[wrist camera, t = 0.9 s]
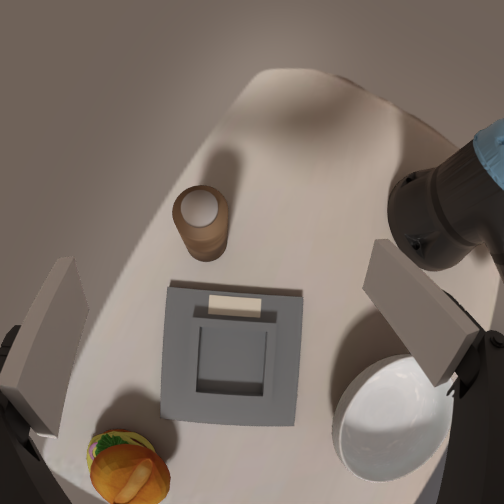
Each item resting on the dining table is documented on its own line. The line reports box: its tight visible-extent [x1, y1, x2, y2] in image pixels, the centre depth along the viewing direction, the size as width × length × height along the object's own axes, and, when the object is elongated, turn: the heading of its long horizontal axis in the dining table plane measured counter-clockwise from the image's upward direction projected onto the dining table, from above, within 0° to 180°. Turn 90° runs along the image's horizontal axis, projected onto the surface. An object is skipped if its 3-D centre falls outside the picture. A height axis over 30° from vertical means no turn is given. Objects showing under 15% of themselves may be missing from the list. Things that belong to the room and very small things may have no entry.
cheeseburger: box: [87, 429, 171, 504], centre depth 27 cm, size 10×11×10 cm
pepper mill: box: [172, 185, 228, 262], centre depth 32 cm, size 5×5×12 cm
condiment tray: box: [160, 287, 303, 426], centre depth 34 cm, size 16×16×2 cm
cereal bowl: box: [332, 354, 454, 483], centre depth 32 cm, size 17×17×7 cm
